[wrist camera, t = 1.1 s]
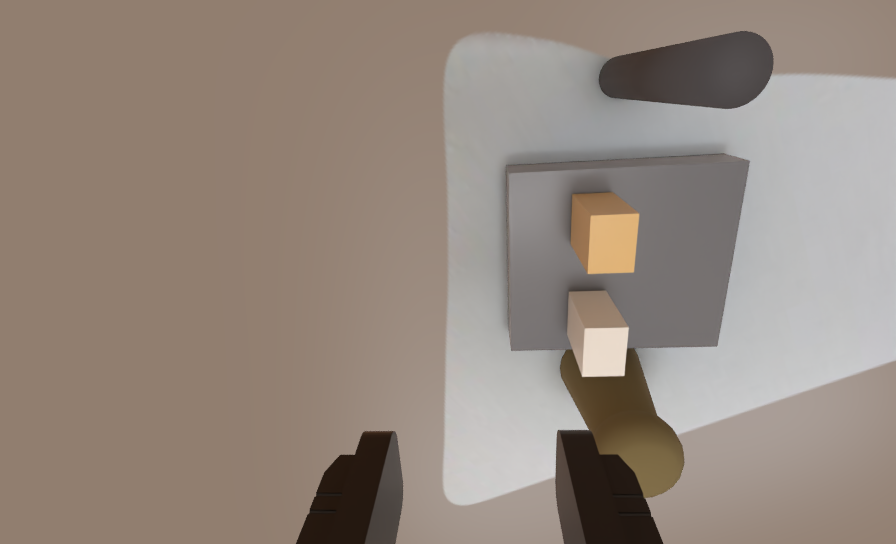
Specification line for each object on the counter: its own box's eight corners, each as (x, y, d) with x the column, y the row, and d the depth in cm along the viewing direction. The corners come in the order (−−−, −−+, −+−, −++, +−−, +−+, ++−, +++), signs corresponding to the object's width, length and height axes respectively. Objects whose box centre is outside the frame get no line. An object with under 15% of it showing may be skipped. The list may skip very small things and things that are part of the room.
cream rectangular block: (605, 290, 30) (628, 327, 26) (602, 333, 32) (624, 376, 27) (568, 291, 31) (584, 328, 26) (567, 334, 32) (582, 376, 27)
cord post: (640, 54, 28) (779, 28, 15) (637, 96, 29) (765, 106, 16) (600, 57, 28) (703, 34, 15) (598, 99, 29) (693, 111, 16)
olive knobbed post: (627, 322, 35) (688, 421, 25) (647, 385, 37) (711, 501, 27) (549, 347, 36) (577, 450, 26) (573, 407, 38) (607, 525, 28)
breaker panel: (724, 153, 30) (749, 160, 27) (698, 325, 34) (717, 346, 32) (506, 165, 31) (508, 173, 28) (508, 329, 36) (511, 350, 33)
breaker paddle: (612, 192, 28) (639, 213, 23) (609, 242, 29) (633, 272, 25) (572, 194, 28) (590, 215, 24) (570, 244, 29) (587, 273, 25)
